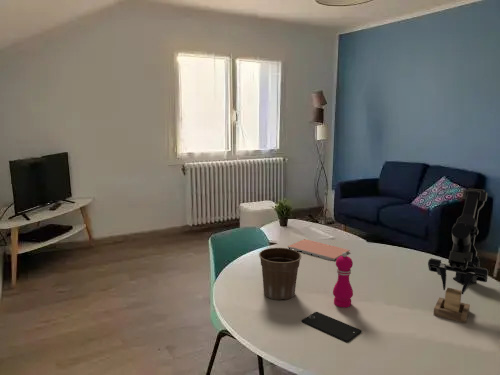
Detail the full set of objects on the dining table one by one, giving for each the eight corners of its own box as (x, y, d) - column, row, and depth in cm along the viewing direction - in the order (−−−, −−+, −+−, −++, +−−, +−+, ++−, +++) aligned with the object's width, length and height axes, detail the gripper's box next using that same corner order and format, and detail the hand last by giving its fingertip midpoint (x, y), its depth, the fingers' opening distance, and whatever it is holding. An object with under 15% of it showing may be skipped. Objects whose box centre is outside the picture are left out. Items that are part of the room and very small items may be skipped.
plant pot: (305, 289, 161) (306, 250, 158) (292, 306, 146) (293, 265, 143) (268, 282, 168) (268, 245, 165) (252, 298, 153) (252, 258, 150)
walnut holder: (438, 303, 148) (439, 297, 148) (469, 311, 143) (469, 304, 142) (433, 314, 140) (434, 308, 140) (465, 323, 135) (466, 316, 134)
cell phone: (316, 313, 142) (316, 311, 142) (362, 332, 130) (362, 330, 130) (300, 322, 136) (300, 320, 136) (347, 343, 124) (347, 341, 123)
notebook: (286, 250, 208) (286, 246, 207) (304, 242, 220) (304, 238, 220) (332, 262, 190) (333, 258, 190) (349, 253, 202) (349, 249, 202)
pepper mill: (353, 300, 151) (355, 250, 147) (351, 309, 144) (354, 256, 140) (333, 297, 153) (335, 248, 149) (331, 306, 146) (333, 254, 143)
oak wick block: (445, 309, 145) (447, 287, 143) (459, 312, 142) (461, 290, 140) (443, 314, 141) (445, 292, 139) (457, 318, 138) (460, 295, 137)
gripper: (431, 236, 145) (422, 275, 138) (490, 246, 135) (484, 289, 128) (433, 251, 153) (425, 288, 146) (490, 261, 143) (483, 302, 136)
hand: (453, 291), depth 139 cm, fingers open, 5 cm apart
